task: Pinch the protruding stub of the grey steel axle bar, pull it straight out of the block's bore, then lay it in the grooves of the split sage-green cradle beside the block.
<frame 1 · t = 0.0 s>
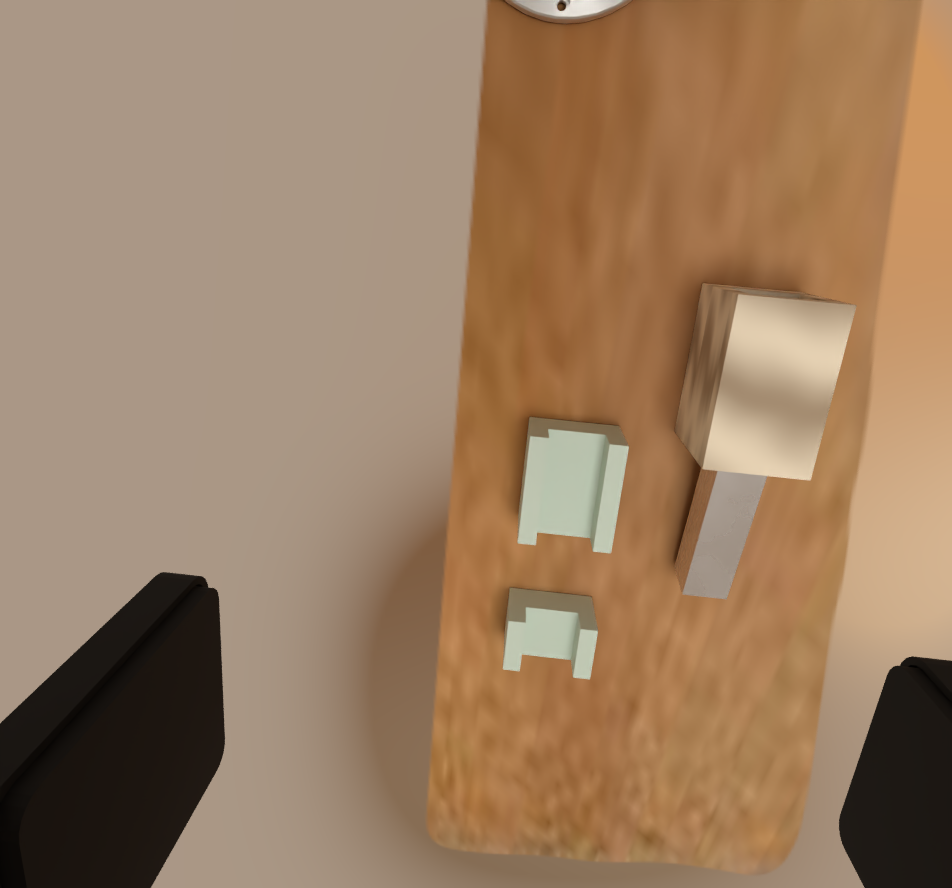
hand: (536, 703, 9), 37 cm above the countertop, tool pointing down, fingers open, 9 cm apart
cradle: (558, 535, 49), on the countertop
block: (735, 364, 44), on the countertop
axle: (722, 474, 44), point 2 cm above the countertop, tilted 10°, touching block
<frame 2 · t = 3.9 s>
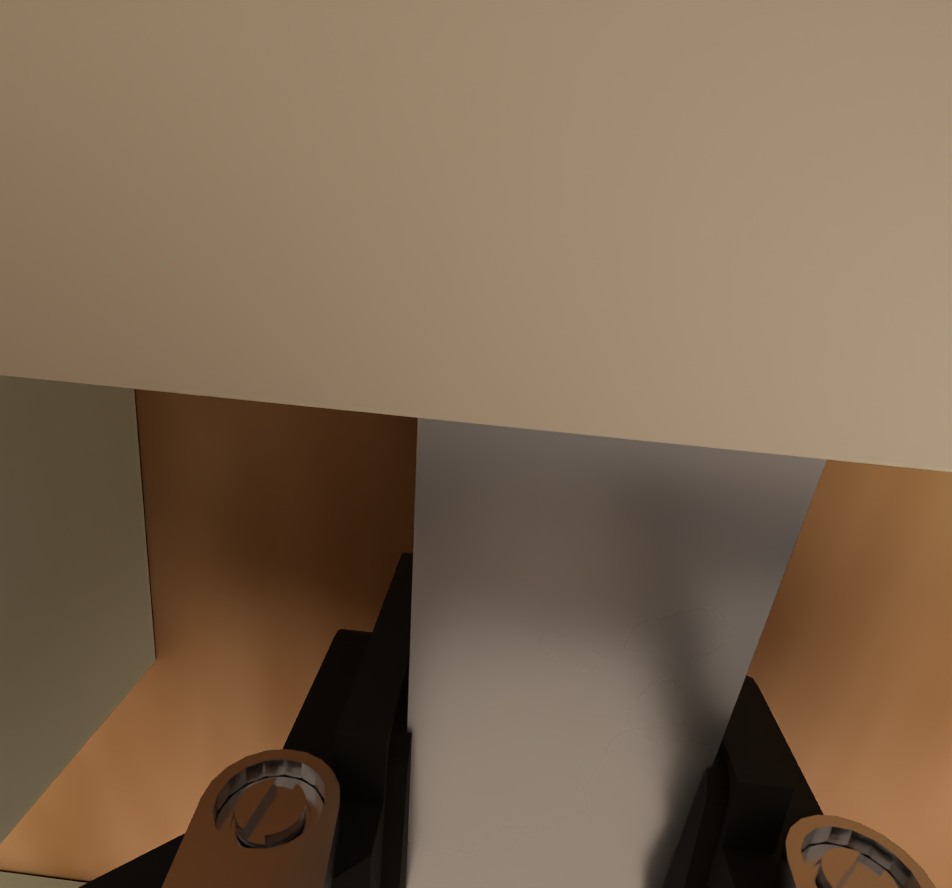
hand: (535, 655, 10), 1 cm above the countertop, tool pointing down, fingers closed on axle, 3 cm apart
cradle: (5, 696, 13), on the countertop
axle: (567, 463, 8), point 2 cm above the countertop, tilted 10°, touching block, gripper
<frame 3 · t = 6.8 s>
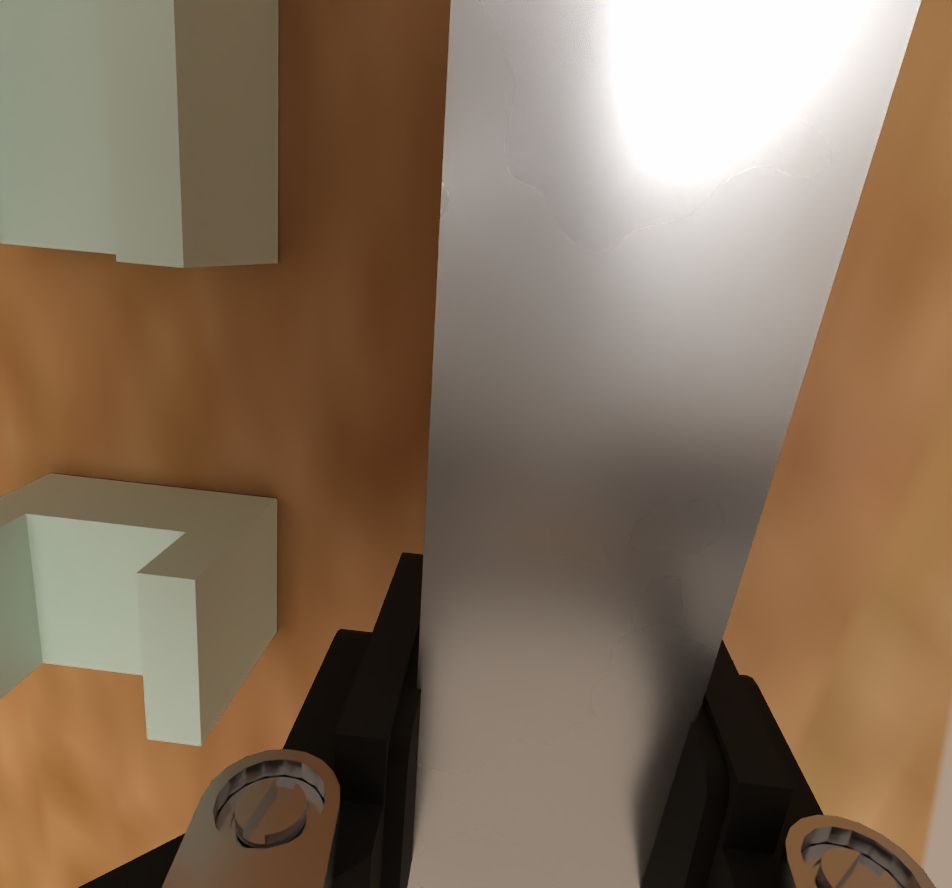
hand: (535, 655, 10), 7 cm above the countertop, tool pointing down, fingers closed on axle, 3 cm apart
cradle: (153, 304, 16), on the countertop
axle: (570, 404, 9), point 7 cm above the countertop, tilted 10°, touching gripper
when the fingers open (2 cm above the countertop, at t = 10.1 s): axle stays where it is, resting on cradle.
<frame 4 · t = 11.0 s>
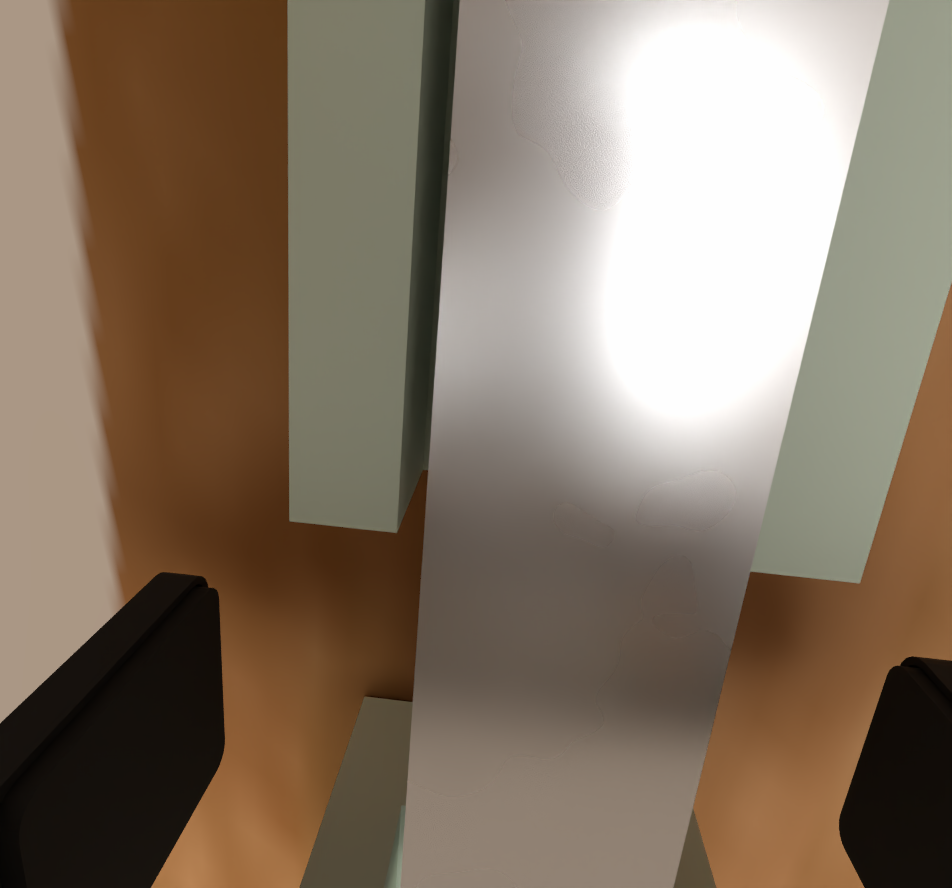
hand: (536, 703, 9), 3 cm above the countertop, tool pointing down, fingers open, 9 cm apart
cradle: (544, 497, 12), on the countertop
axle: (570, 414, 9), point 2 cm above the countertop, touching cradle
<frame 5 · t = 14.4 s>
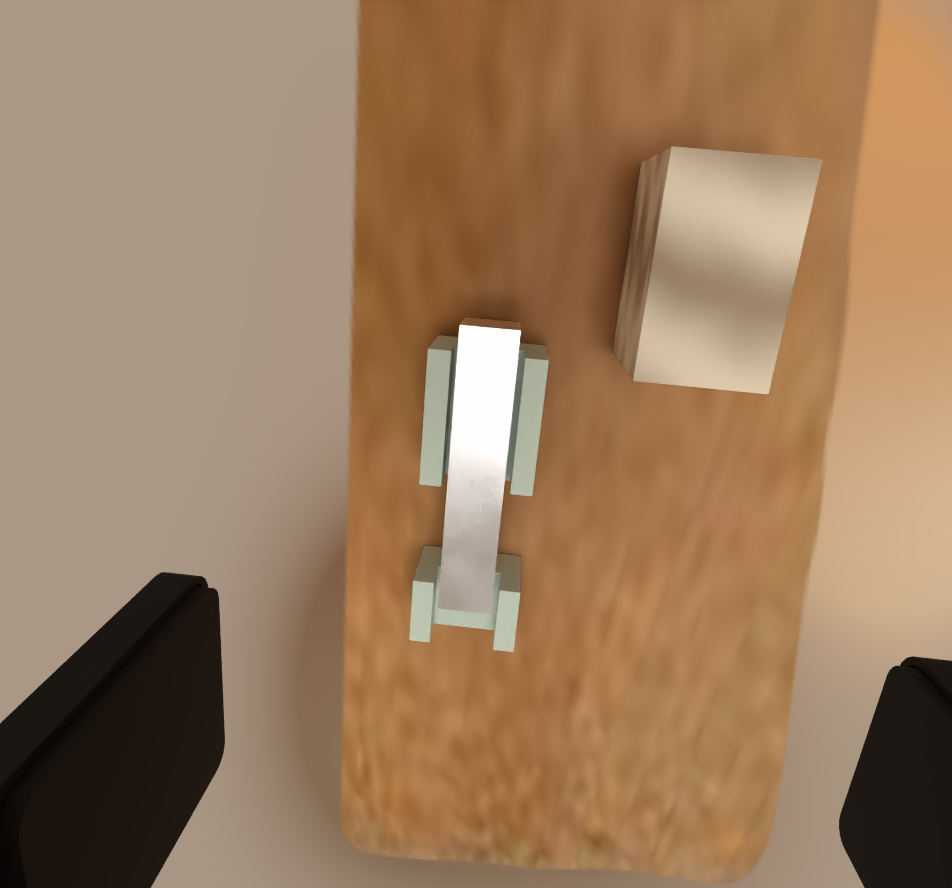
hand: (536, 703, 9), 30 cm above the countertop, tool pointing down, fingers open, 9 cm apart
cradle: (478, 481, 41), on the countertop
block: (683, 266, 36), on the countertop
axle: (479, 460, 38), point 2 cm above the countertop, touching cradle
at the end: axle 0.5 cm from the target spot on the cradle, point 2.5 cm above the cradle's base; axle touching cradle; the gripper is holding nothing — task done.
